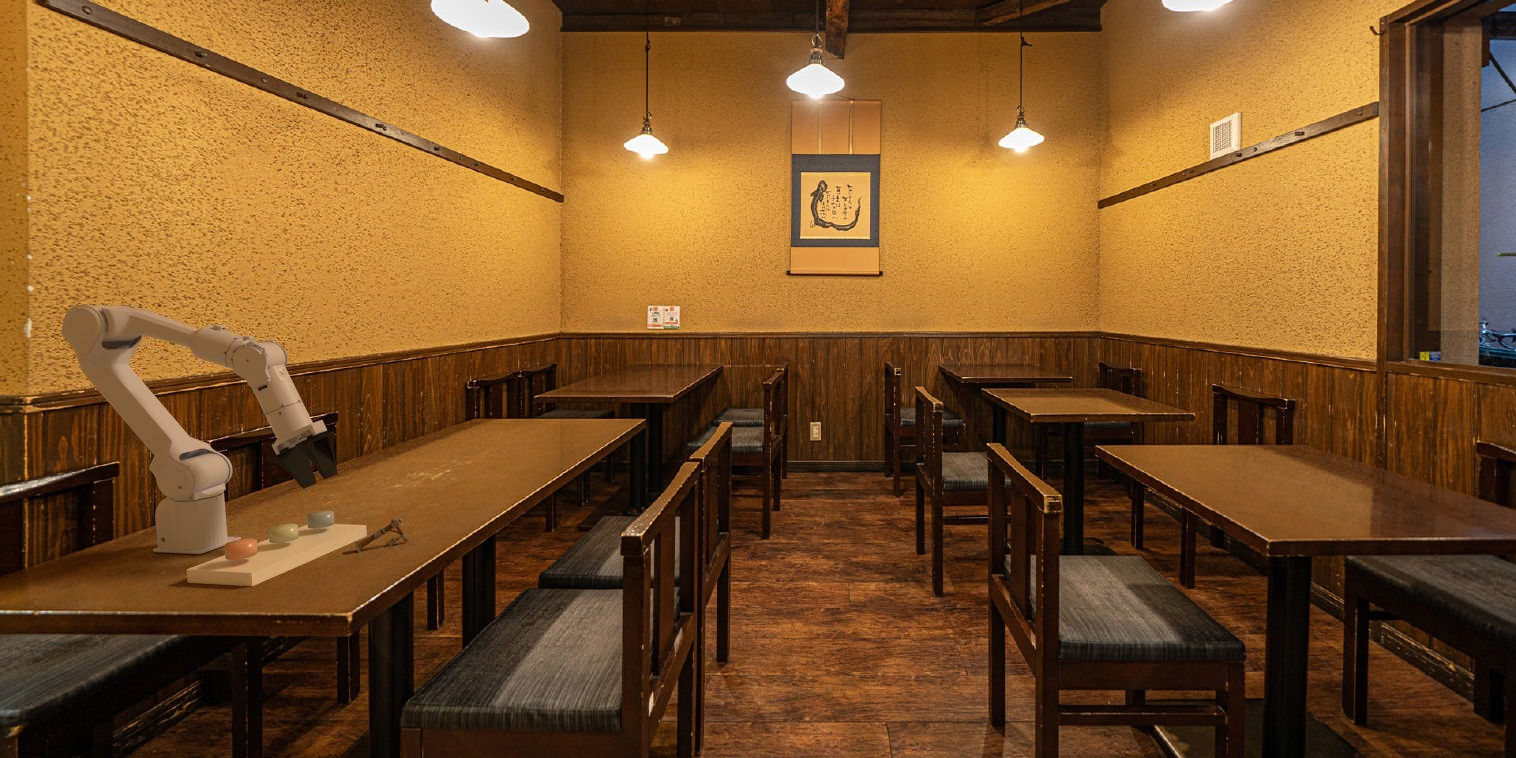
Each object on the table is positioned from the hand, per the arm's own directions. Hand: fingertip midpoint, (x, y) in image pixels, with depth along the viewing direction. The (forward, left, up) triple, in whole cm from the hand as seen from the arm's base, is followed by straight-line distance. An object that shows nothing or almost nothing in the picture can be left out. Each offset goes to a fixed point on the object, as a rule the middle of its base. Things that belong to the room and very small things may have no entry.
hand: (320, 481), depth 124 cm
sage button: (-1, -7, -9) cm, 11 cm away
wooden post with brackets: (+11, 0, -11) cm, 16 cm away
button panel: (-1, -7, -11) cm, 13 cm away
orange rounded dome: (-1, -15, -9) cm, 18 cm away
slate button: (-1, +1, -9) cm, 9 cm away
